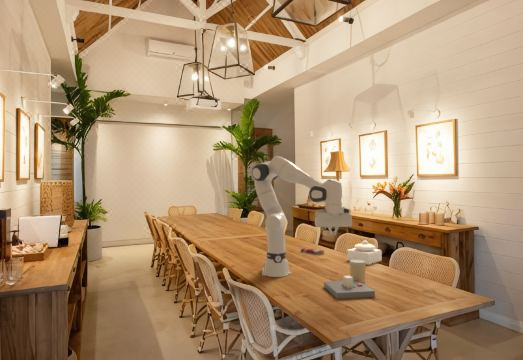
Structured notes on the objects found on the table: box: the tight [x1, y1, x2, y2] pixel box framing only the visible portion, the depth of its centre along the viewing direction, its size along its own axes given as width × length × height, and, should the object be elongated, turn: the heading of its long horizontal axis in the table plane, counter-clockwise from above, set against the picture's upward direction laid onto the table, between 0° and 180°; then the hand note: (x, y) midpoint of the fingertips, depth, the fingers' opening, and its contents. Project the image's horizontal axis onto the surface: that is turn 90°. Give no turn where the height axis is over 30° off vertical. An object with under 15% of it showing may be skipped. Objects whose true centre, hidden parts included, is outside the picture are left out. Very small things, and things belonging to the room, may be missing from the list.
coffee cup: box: [348, 259, 367, 284], centre depth 204 cm, size 9×9×12 cm
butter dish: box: [346, 239, 383, 266], centre depth 254 cm, size 18×18×16 cm
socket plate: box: [323, 280, 376, 300], centre depth 185 cm, size 20×20×4 cm
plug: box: [342, 275, 353, 288], centre depth 186 cm, size 7×4×8 cm, turn 9°
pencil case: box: [300, 247, 325, 256], centre depth 279 cm, size 11×20×5 cm, turn 38°
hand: (333, 235), depth 188 cm, fingers closed
